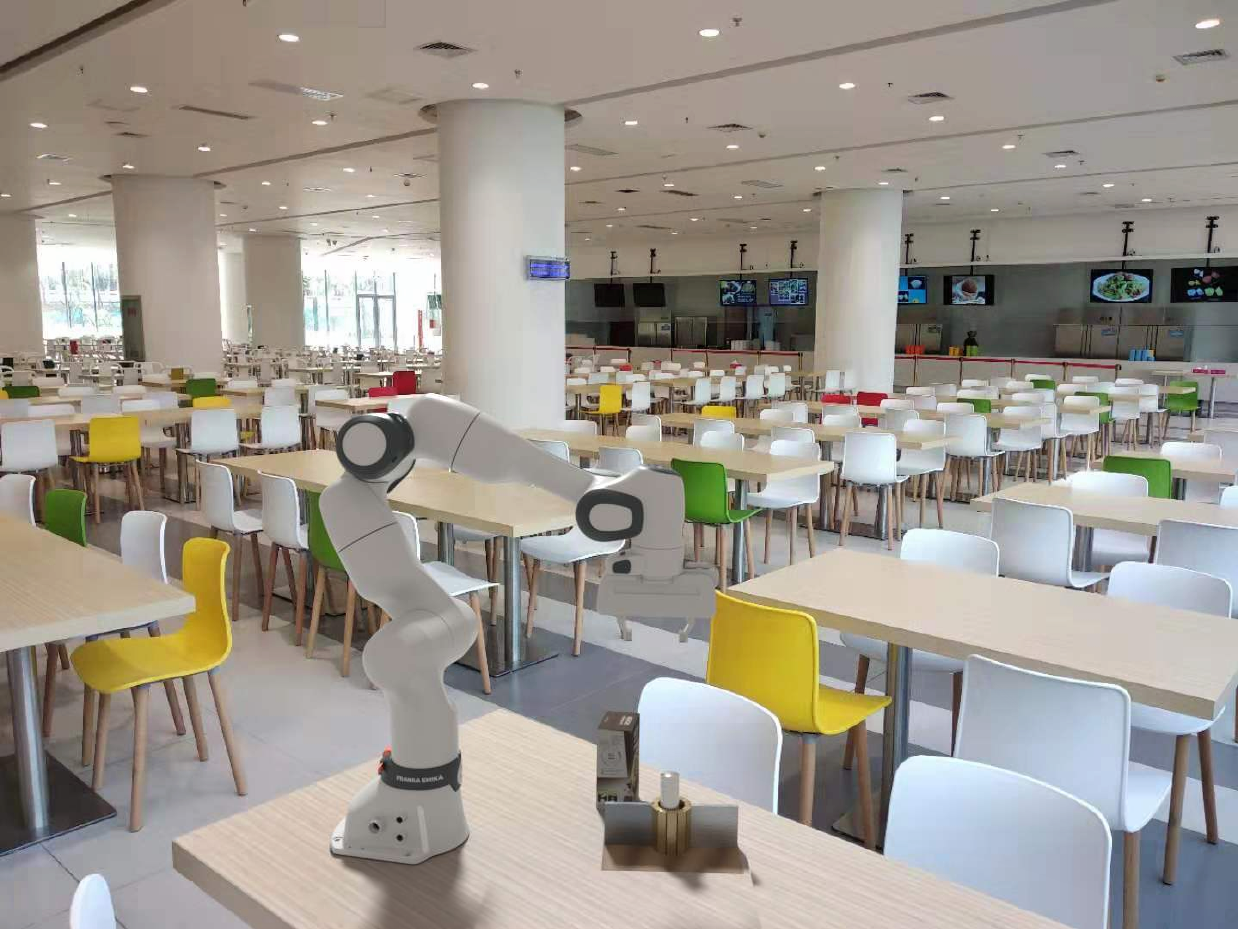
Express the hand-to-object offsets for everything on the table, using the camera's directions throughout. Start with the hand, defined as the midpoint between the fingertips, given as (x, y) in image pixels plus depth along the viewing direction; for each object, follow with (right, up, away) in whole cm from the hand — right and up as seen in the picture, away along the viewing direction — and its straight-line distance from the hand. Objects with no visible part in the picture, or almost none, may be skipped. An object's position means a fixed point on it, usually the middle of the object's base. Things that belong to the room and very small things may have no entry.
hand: (655, 641), depth 162 cm
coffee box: (-6, -32, +10) cm, 34 cm away
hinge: (+2, -32, -6) cm, 33 cm away
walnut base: (+2, -34, -8) cm, 35 cm away
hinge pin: (+2, -32, -6) cm, 33 cm away
